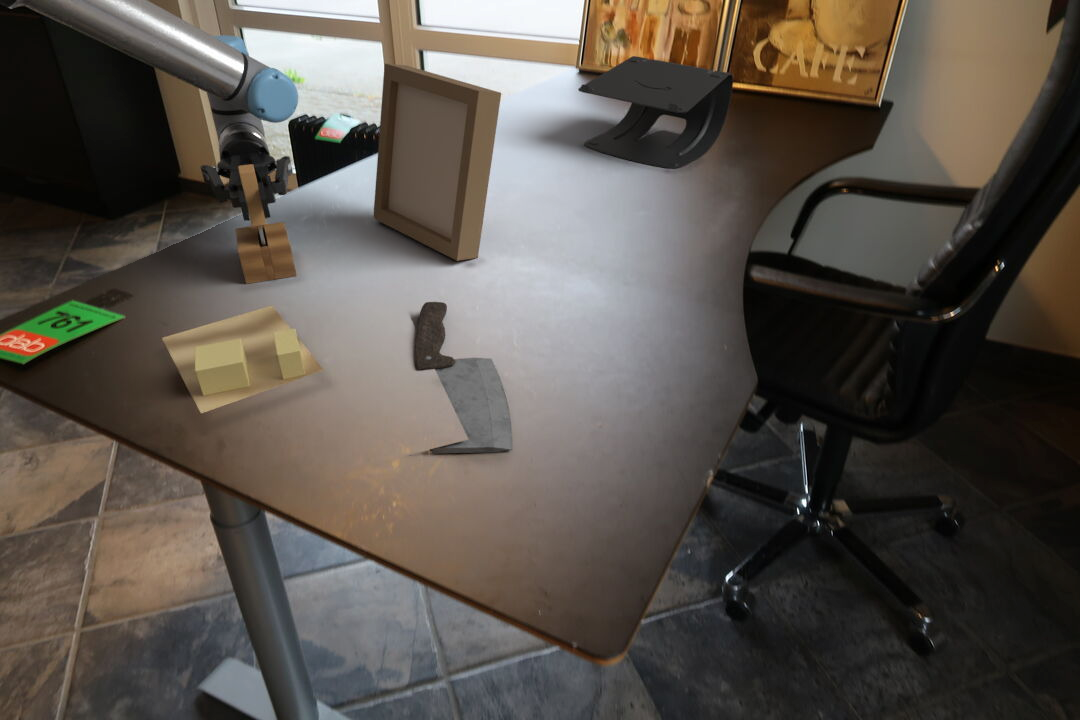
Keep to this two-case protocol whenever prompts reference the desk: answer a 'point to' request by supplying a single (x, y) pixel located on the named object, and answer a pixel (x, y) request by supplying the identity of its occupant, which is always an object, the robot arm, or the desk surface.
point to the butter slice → (289, 354)
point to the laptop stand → (662, 110)
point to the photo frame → (435, 158)
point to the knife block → (265, 253)
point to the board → (257, 349)
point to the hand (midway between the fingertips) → (255, 209)
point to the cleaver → (464, 388)
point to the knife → (253, 198)
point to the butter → (221, 367)
